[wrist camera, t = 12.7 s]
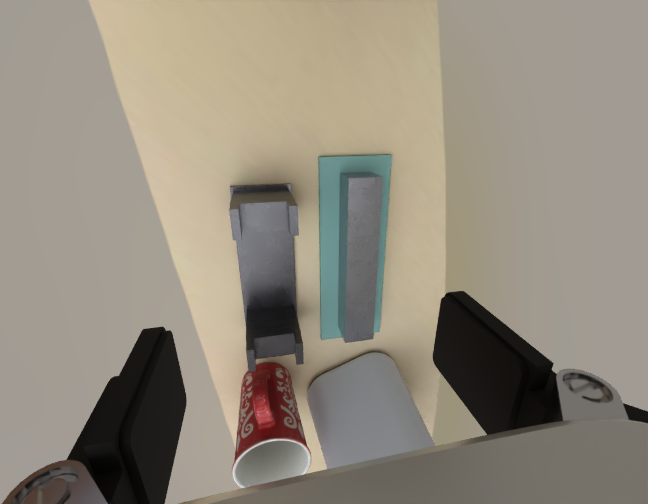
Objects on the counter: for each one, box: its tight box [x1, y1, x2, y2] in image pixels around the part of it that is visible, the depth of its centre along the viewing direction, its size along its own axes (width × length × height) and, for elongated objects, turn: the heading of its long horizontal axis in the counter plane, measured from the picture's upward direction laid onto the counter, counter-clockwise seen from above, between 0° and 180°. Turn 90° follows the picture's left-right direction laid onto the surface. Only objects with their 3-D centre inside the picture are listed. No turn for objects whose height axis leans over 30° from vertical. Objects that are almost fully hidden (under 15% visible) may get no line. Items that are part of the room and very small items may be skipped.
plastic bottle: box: [307, 352, 435, 469], centre depth 42 cm, size 15×15×28 cm
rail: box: [338, 172, 383, 343], centre depth 42 cm, size 22×4×4 cm, turn 0°
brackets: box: [229, 183, 304, 372], centre depth 38 cm, size 20×7×9 cm, turn 0°
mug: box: [232, 363, 311, 488], centre depth 43 cm, size 13×9×14 cm
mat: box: [319, 155, 392, 340], centre depth 44 cm, size 26×9×1 cm, turn 0°
